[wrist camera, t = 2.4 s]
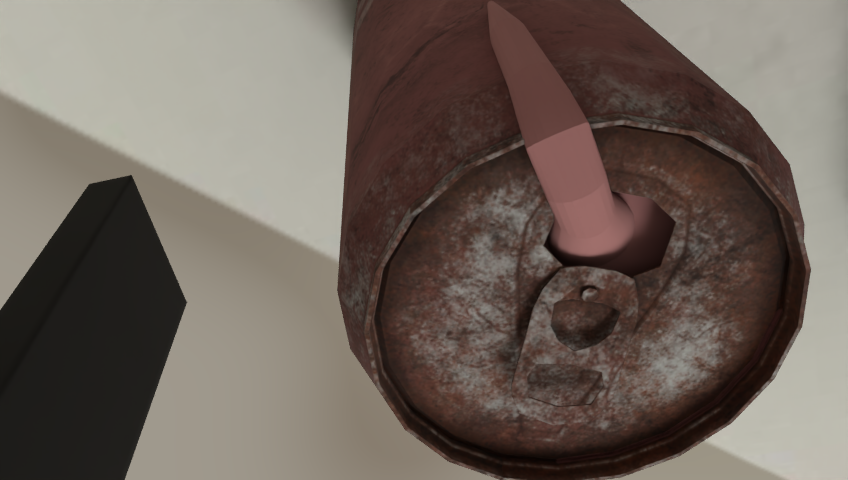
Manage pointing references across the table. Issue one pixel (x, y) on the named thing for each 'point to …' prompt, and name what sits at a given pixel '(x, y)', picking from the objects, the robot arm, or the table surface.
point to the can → (559, 237)
